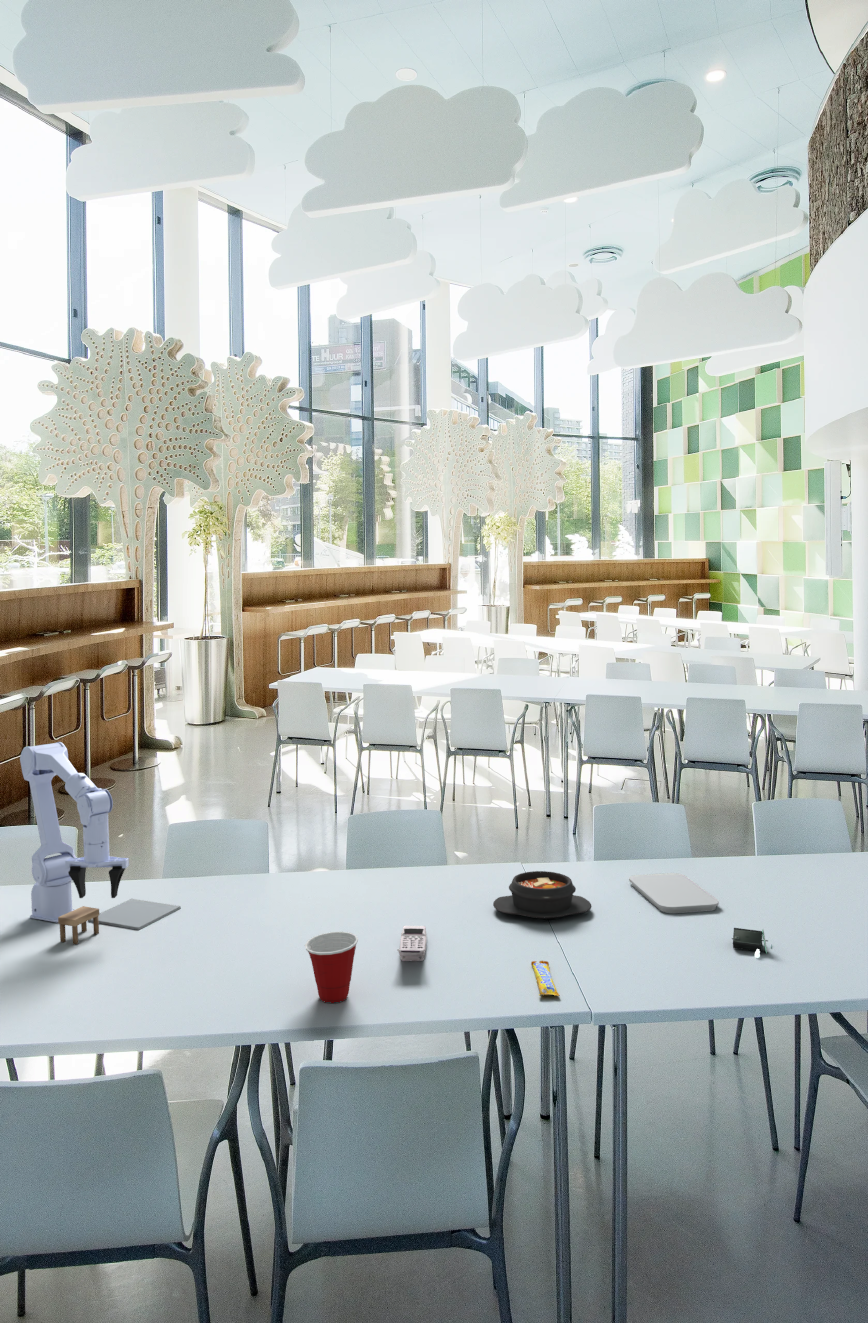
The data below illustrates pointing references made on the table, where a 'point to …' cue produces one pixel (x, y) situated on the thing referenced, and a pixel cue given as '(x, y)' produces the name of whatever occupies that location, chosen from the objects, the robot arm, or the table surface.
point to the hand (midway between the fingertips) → (98, 896)
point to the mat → (135, 913)
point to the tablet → (673, 893)
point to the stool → (78, 922)
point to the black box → (749, 940)
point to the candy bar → (544, 978)
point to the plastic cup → (332, 963)
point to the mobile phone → (413, 943)
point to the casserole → (542, 896)
